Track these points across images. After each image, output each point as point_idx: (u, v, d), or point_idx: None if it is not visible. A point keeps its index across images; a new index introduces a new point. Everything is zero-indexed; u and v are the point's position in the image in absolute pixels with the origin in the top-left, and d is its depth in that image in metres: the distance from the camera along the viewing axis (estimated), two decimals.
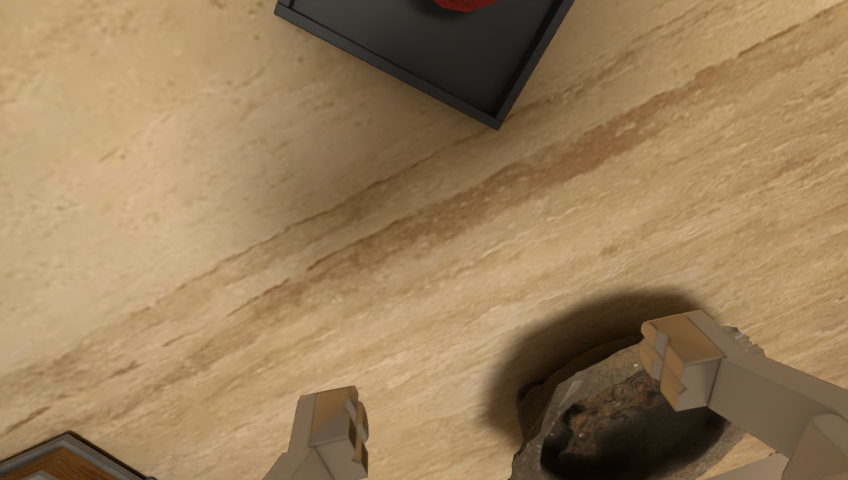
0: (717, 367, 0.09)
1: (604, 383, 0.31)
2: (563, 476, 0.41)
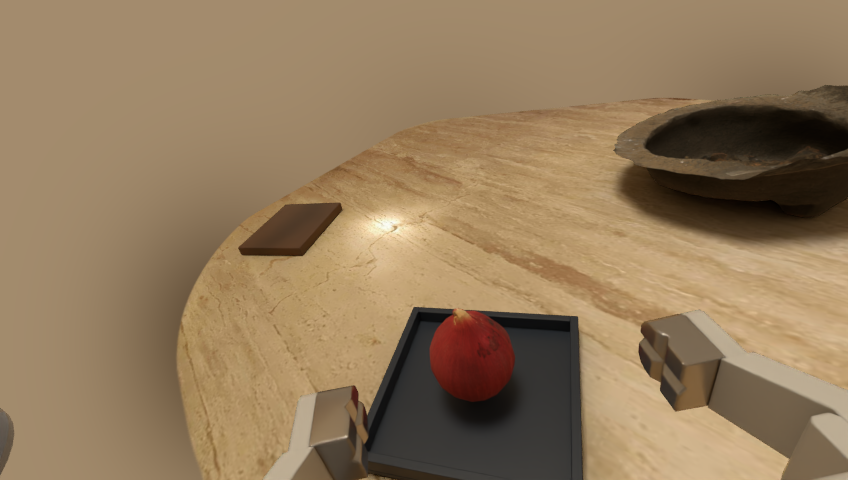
0: (717, 367, 0.09)
1: (714, 164, 0.39)
2: None
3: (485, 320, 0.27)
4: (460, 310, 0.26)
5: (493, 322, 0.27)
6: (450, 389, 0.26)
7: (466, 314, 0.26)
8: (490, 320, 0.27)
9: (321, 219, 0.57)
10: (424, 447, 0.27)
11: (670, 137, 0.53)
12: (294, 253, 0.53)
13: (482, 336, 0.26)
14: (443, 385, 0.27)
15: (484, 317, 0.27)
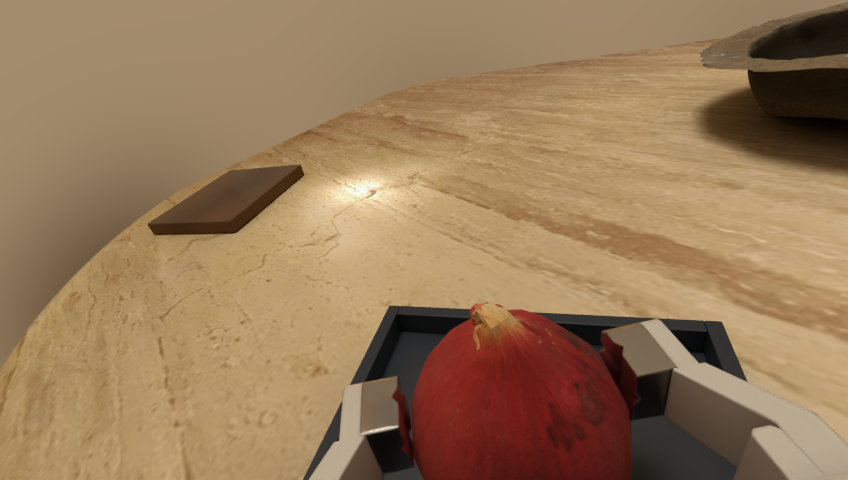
0: (669, 377, 0.09)
1: None
2: None
3: (560, 336, 0.10)
4: (493, 308, 0.09)
5: (577, 340, 0.10)
6: None
7: (511, 319, 0.09)
8: (570, 334, 0.10)
9: (269, 185, 0.41)
10: None
11: (773, 57, 0.36)
12: (223, 229, 0.36)
13: (559, 384, 0.09)
14: None
15: (554, 327, 0.10)
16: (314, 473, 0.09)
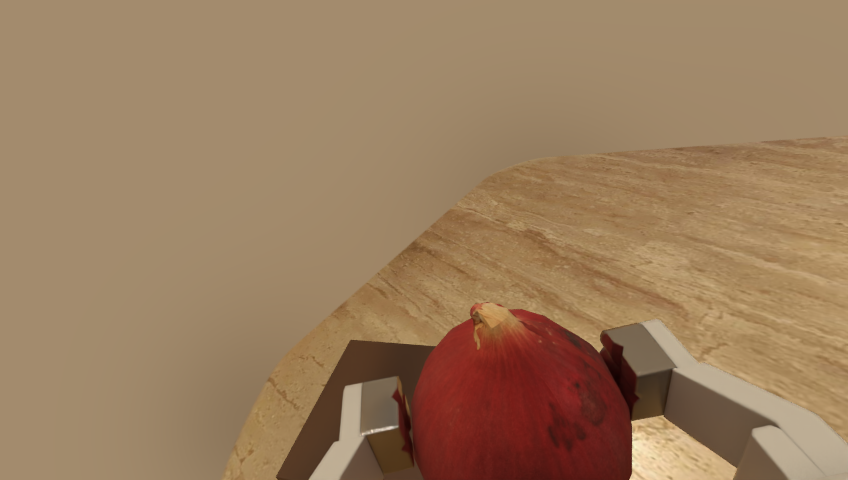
0: (669, 377, 0.09)
1: None
2: None
3: (561, 335, 0.10)
4: (494, 307, 0.09)
5: (578, 339, 0.10)
6: None
7: (511, 319, 0.09)
8: (570, 334, 0.10)
9: None
10: None
11: None
12: None
13: (560, 384, 0.09)
14: None
15: (554, 326, 0.10)
16: (314, 473, 0.09)
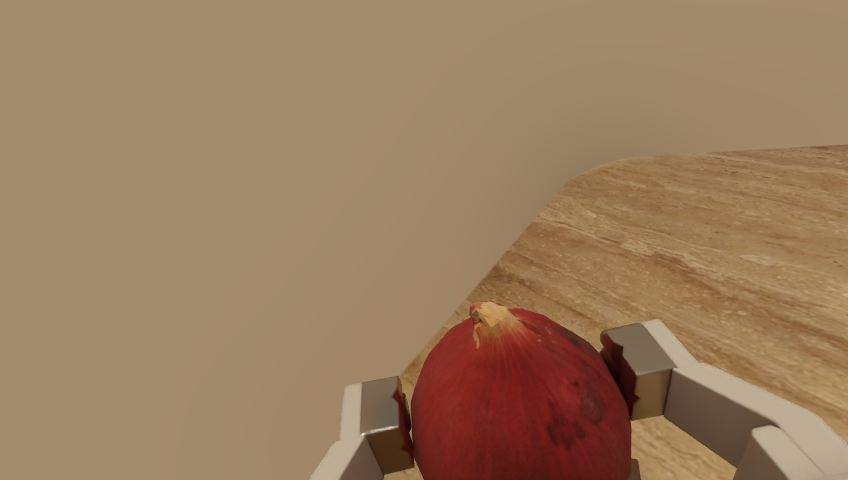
0: (669, 377, 0.09)
1: None
2: None
3: (560, 335, 0.10)
4: (493, 306, 0.09)
5: (577, 338, 0.10)
6: None
7: (510, 318, 0.09)
8: (569, 333, 0.10)
9: None
10: None
11: None
12: None
13: (559, 383, 0.09)
14: None
15: (554, 325, 0.10)
16: (314, 473, 0.09)
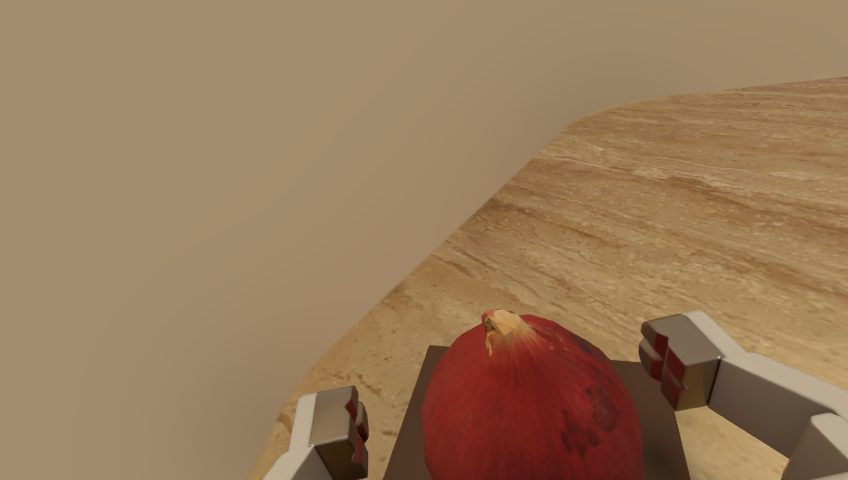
0: (717, 367, 0.09)
1: None
2: None
3: (571, 342, 0.10)
4: (506, 314, 0.09)
5: (588, 345, 0.10)
6: None
7: (523, 325, 0.09)
8: (580, 340, 0.10)
9: None
10: None
11: None
12: None
13: (572, 390, 0.09)
14: None
15: (565, 332, 0.10)
16: None
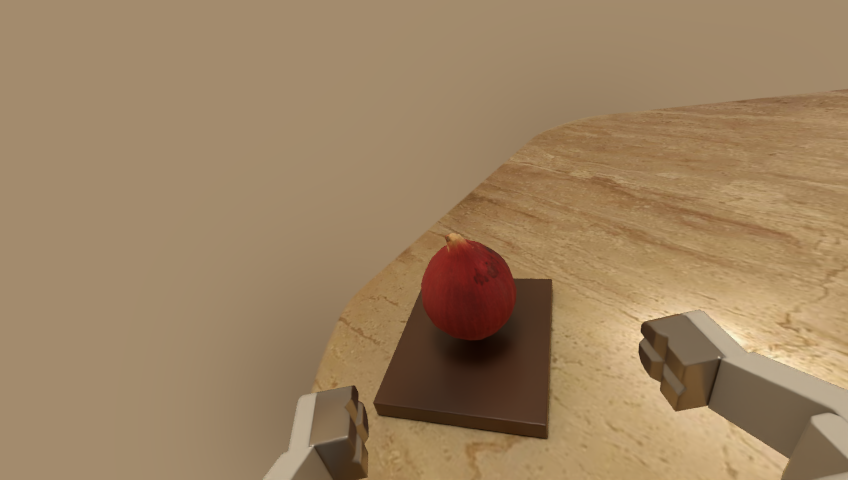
0: (717, 367, 0.09)
1: None
2: None
3: (482, 247, 0.24)
4: (454, 234, 0.23)
5: (491, 250, 0.24)
6: (444, 324, 0.23)
7: (461, 238, 0.23)
8: (488, 248, 0.24)
9: (540, 327, 0.27)
10: None
11: None
12: (525, 432, 0.22)
13: (479, 262, 0.23)
14: (436, 321, 0.24)
15: (481, 244, 0.24)
16: None
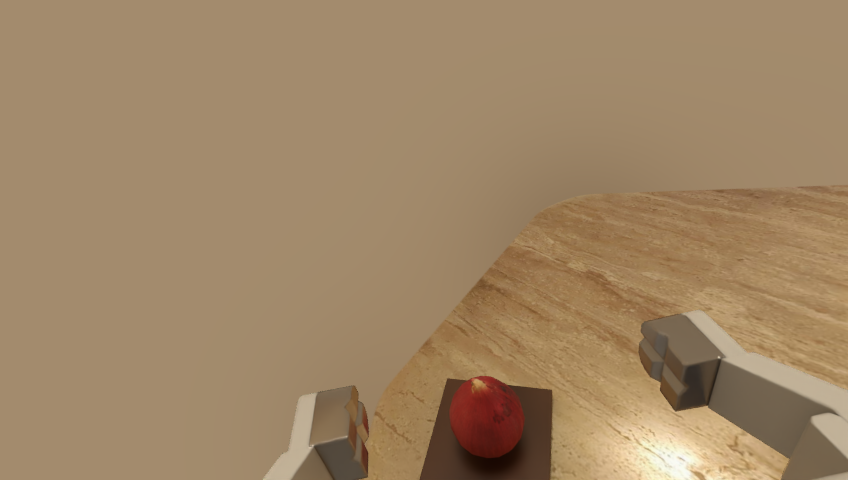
0: (717, 367, 0.09)
1: None
2: None
3: (499, 388, 0.31)
4: (477, 381, 0.30)
5: (505, 388, 0.31)
6: (469, 449, 0.30)
7: (483, 384, 0.30)
8: (503, 387, 0.31)
9: (542, 440, 0.33)
10: None
11: None
12: None
13: (497, 404, 0.30)
14: (462, 444, 0.31)
15: (498, 384, 0.31)
16: None
